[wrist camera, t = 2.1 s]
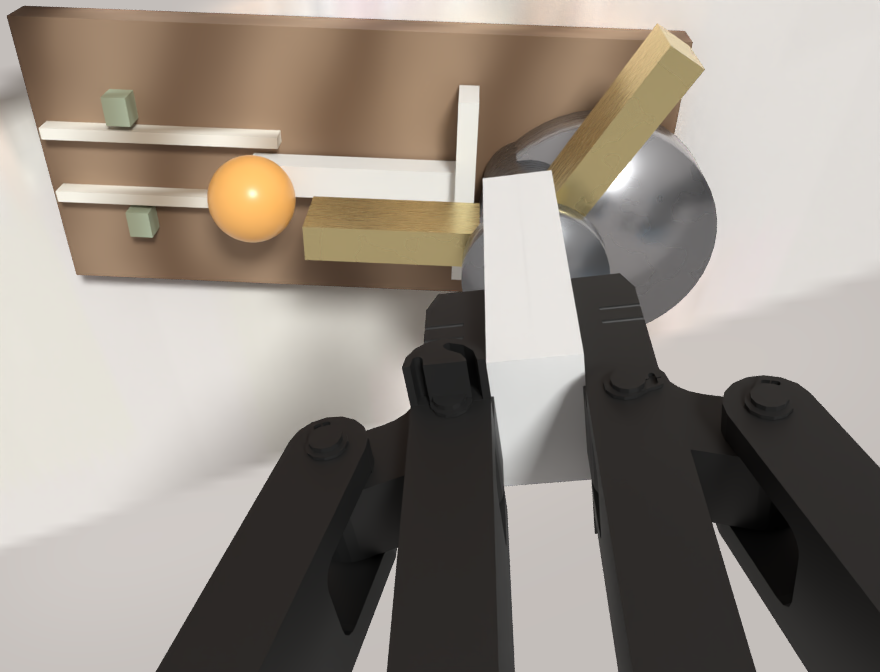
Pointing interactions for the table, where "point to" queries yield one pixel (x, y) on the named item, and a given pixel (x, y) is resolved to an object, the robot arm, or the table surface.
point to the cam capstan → (567, 193)
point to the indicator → (338, 181)
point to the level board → (274, 120)
